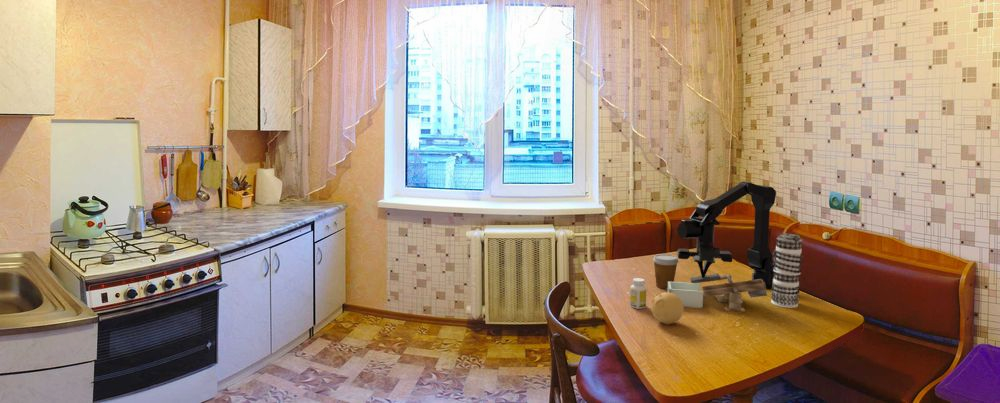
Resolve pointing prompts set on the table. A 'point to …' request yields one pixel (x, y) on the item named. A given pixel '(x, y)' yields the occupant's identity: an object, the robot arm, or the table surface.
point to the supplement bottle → (638, 294)
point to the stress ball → (667, 308)
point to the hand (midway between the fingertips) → (702, 277)
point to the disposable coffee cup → (664, 269)
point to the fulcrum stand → (732, 301)
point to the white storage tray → (687, 293)
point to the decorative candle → (787, 270)
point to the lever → (731, 286)
